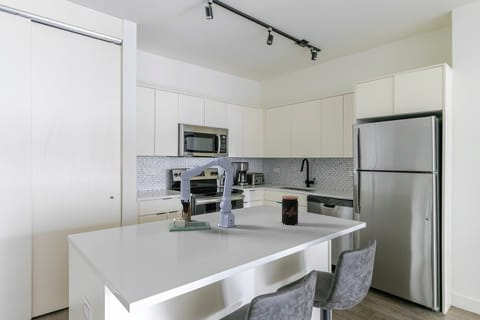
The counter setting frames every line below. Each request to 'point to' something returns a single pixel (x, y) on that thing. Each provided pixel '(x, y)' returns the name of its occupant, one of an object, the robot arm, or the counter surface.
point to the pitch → (190, 226)
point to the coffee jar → (290, 210)
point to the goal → (179, 222)
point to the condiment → (188, 214)
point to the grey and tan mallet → (185, 218)
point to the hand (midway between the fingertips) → (185, 211)
